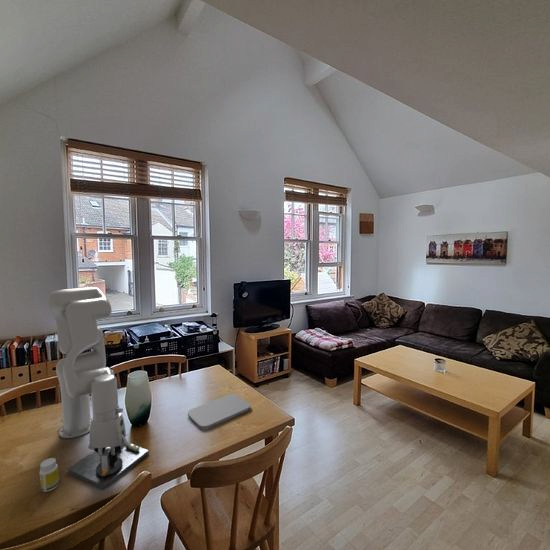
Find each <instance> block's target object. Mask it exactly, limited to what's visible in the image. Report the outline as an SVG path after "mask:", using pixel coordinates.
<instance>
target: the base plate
mask: <svg viewBox="0 0 550 550" xmlns="http://www.w3.org/2000/svg"><path fill="white" fill-rule="evenodd" d="M127 442H128V441H127ZM147 456H149V450H148V449H146V448H143V447H141V446H139V445H137V444H135V443H131V442H128V444H127V445H126V446H125V447H123V448H121V449H120V450H119V451H118V452H117V457H119V458H121V459H122V461H123V465H122V467H121V469H120V470H119V471H117V472H116V473H114V474H112V475H110V476H105V477H101V476H98V475H97V474H96V467H97V466H98V465H99V464H100V463H101V459H100V456H99V455H98V453H97V452H95V451H94V450H92V452H91V453H89V454H87V455H86V456H84V457H83V458H81V459H79V460H78V461H76V462H75V463H74V464H72V465H71V466H69V467H67V473H68V474H70V475H72V476H74V477H76V478H78V479H81V481H84V482H86V483H89V484H90V485H92V486H94V487H96V488H98V489H101V490H103V491H105V490H106V489H107V488H108V487H109V486H111V485H112V484H114V482H116V481H117V480H118V479H119V478H121V477H122V476H123V475H125V474H126V473H127V472H128V471H130V470H131V469H132V468H133V467H134V466H135V465H137V464H138V463H140V462H141V461H142V460H143V459H145V457H147Z"/></svg>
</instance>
